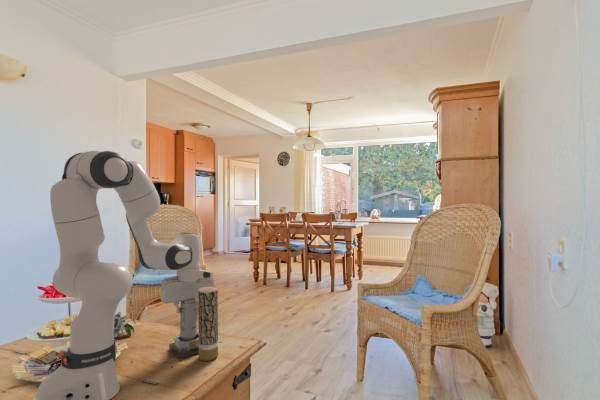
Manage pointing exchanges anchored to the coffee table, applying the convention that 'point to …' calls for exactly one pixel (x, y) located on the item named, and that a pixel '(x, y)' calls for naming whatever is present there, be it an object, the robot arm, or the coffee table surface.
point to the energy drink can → (188, 319)
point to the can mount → (185, 347)
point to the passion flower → (122, 325)
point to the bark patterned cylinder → (208, 323)
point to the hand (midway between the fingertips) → (188, 310)
